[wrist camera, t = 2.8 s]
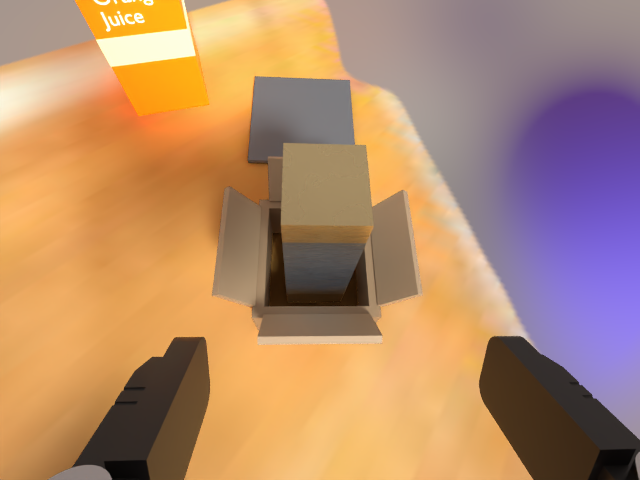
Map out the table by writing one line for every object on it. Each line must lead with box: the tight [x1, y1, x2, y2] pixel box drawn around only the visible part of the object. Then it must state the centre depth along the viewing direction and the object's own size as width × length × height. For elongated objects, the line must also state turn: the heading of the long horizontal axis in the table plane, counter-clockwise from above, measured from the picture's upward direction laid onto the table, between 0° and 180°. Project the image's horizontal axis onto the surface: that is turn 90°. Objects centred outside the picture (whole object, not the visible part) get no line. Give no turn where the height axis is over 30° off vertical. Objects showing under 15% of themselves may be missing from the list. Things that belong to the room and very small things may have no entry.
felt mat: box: [248, 76, 355, 163], centre depth 38 cm, size 11×12×1 cm
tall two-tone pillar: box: [281, 143, 374, 302], centre depth 24 cm, size 4×5×14 cm
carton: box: [212, 156, 423, 345], centre depth 27 cm, size 14×14×8 cm
